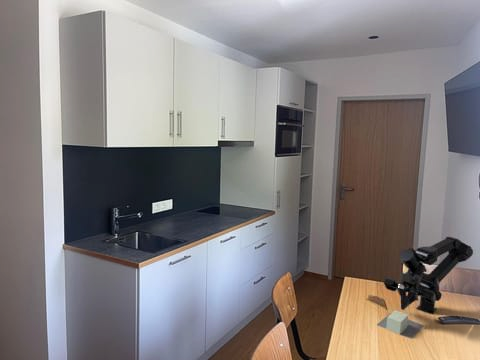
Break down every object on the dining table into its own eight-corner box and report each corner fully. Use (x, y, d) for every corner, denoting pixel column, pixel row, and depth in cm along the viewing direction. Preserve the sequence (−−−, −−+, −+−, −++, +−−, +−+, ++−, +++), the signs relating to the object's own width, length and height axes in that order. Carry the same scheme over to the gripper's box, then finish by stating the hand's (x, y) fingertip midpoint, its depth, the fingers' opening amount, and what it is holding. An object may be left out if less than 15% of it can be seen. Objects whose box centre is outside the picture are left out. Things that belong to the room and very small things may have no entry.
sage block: (395, 310, 138) (387, 316, 132) (408, 314, 134) (400, 322, 129) (394, 322, 138) (386, 329, 133) (407, 327, 135) (399, 334, 129)
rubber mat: (390, 313, 146) (390, 312, 146) (423, 325, 137) (423, 325, 137) (376, 325, 136) (376, 324, 136) (411, 339, 127) (411, 338, 127)
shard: (386, 311, 149) (386, 307, 149) (367, 308, 151) (367, 304, 150) (382, 300, 159) (382, 296, 159) (365, 297, 161) (365, 294, 161)
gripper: (387, 258, 144) (373, 291, 138) (436, 271, 131) (424, 308, 125) (392, 272, 151) (380, 304, 144) (440, 285, 138) (429, 321, 131)
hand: (402, 309), depth 136 cm, fingers closed
